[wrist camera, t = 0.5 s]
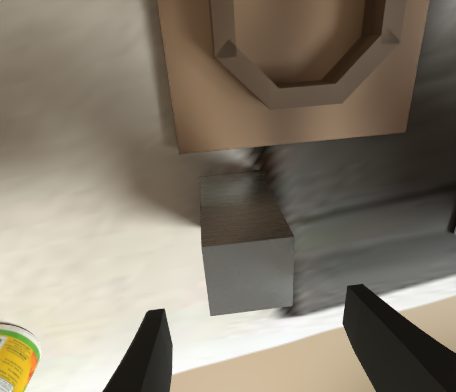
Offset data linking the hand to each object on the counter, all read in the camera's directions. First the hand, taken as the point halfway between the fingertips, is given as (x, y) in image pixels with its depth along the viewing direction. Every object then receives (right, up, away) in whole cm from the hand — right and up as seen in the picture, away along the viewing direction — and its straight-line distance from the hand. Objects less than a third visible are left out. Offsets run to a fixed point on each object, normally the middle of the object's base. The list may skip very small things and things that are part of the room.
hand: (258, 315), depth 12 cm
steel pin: (-1, +4, +9) cm, 10 cm away
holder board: (+2, +15, +4) cm, 15 cm away
